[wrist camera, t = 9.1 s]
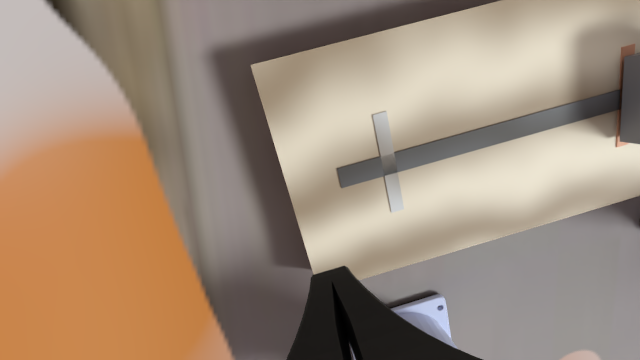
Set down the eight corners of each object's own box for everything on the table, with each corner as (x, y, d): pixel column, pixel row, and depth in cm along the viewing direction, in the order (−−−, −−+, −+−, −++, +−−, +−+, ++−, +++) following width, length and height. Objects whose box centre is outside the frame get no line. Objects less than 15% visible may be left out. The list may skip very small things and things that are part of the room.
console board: (642, 172, 23) (686, 182, 20) (314, 270, 22) (319, 292, 19) (660, -37, 19) (717, -56, 16) (254, 68, 17) (250, 64, 15)
